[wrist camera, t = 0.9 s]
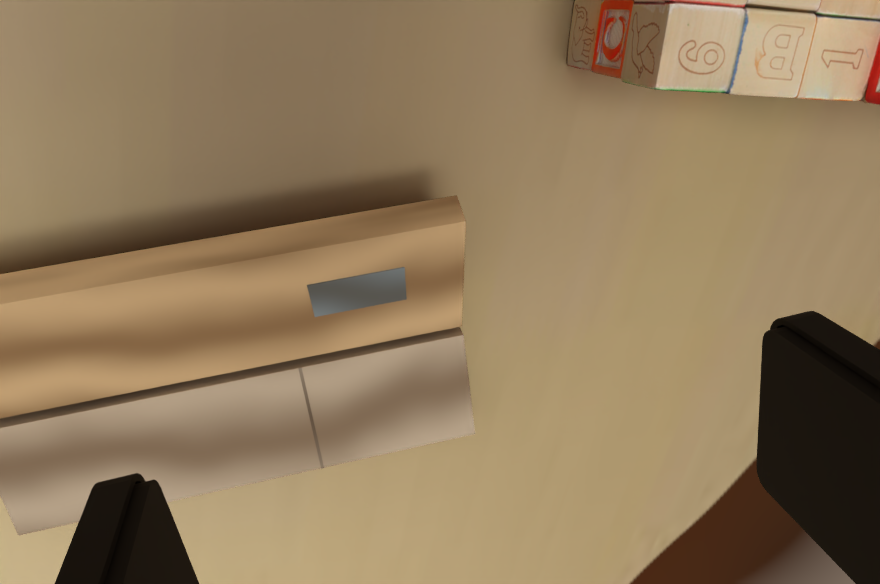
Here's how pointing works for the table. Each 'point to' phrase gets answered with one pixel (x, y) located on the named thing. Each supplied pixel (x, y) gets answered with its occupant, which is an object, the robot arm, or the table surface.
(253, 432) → the floor row
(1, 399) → the board
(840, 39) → the stack of blocks
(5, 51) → the table surface
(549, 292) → the table surface
